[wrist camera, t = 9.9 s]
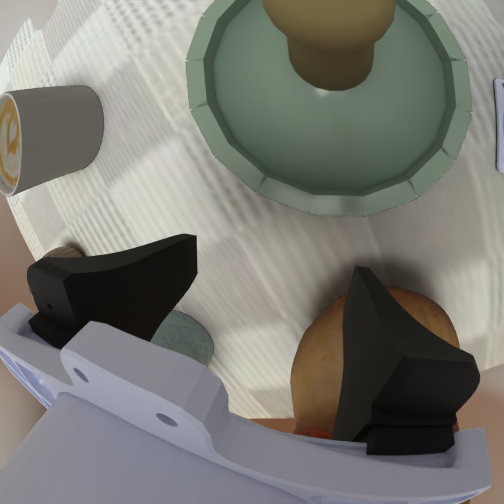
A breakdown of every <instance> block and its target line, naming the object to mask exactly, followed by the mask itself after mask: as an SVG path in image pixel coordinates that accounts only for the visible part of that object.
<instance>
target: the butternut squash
mask: <svg viewBox="0 0 504 504" xmlns="http://www.w3.org/2000/svg"><path fill="white" fill-rule="evenodd" d="M384 287H385V288H386V289H387V291H388V292H389V293H390V294H391V295H392V296H393V297H394V299H395V300H396V301H397V302H398V303H399V304H400V305H401V306H402V307H403V308H404V309H405V310H406V311H407V312H408V313H409V314H410V315H411V316H412V317H414V318H415V319H416V320H417V321H418V322H419V323H421V324H422V325H423V326H424V327H426V328H427V329H428V330H430V331H431V332H432V333H434V334H435V335H437V336H438V337H440V338H441V339H443V340H445V341H446V342H448V343H450V344H451V345H453V346H455V347H457V348H459V349H460V347H459V341H458V338H457V334H456V331H455V329H454V326H453V324H452V322H451V320H450V318H449V316H448V315H447V313H446V312H445V311H444V309H443V308H442V307H441V306H439V305H438V304H437V303H436V302H434V301H433V300H431V299H429V298H428V297H426V296H424V295H422V294H419V293H416V292H413V291H410V290H406V289H402V288H397V287H393V286H384ZM346 297H347V293H346V294H344V295H342V296H341V297H339V298H337V299H336V300H335V301H334V302H333V303H332V304H331V305H330V306H329V307H328V308H327V309H326V310H325V311H324V312H323V313H322V314H321V315H320V316H319V317H318V318H317V319H316V320H315V321H314V322H313V323H312V324H311V325H310V326H309V327H308V328H307V330H306V331H305V333H304V334H303V337H302V339H301V341H300V343H299V346H298V349H297V352H296V355H295V358H294V362H293V366H292V370H291V380H290V383H291V392H292V401H293V410H294V416H295V421H296V428H295V430H294V433H293V434H296V435H301V436H307V437H314V438H321V439H328V440H331V437H332V433H333V429H334V424H335V419H336V414H337V409H338V404H339V398H340V391H341V384H342V376H343V328H342V322H343V310H344V303H345V300H346ZM456 418H457V417H456ZM452 426H453V433H455V432H457V431H459V427H458V423H457V422H456V424H455V425H452ZM469 503H470V499H468V500H466V501H464V502H462V503H460V504H469Z"/></svg>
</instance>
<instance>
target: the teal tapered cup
mask: <svg viewBox="0 0 504 504" xmlns="http://www.w3.org/2000/svg"><path fill="white" fill-rule="evenodd" d="M150 342H151V343H153V344H156V345H158V346H161V347H164V348H166V349H169V350H172V351H175V352H178V353H181V354H183V355H186V356H188V357H190V358H192V359H194V360H196V361H198V362H200V363H202V364H204V365H205V366H208V364H209V362H210V360H211V357H212V355H213V349H214V348H213V342H212V339H211V337H210V335H209V334H208V332H207V331H206V329H205V328H204V327H203V326H202V325H201V324H200V323H199V322H197V321H196V320H195V319H193V318H192V317H190V316H188V315H186V314H184V313H182V312H179V311H174V310H172V311H171V312H170V313H169V314H168V316H167V317H166V318H165V319H164V321H163V322H162V323H161V325H160V326H159V328H158V329H157V331H156V333H155V334H154V336H153V338H152V339H151V341H150Z"/></svg>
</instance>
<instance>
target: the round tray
mask: <svg viewBox="0 0 504 504" xmlns="http://www.w3.org/2000/svg"><path fill="white" fill-rule="evenodd" d="M436 12H437V10H436V9H435V8H434V7H433V6H432V5H431V4H429V3H428V2H427V1H426V0H395V13H394V20H393V22H392V24H391V26H390V27H389V28H388V30H387V31H386V33H385V34H384V36H383V37H382V38H381V39H380V40H378V41H376V42H375V44H374V61H373V65H372V70H371V72H370V74H369V75H368V76H367V78H366V79H365V81H363V82H362V83H360V84H359V85H358V86H356V87H355V88H351V89H348V90H344V91H327V90H323V89H320V88H316V87H314V86H312V85H311V84H309V83H307V82H305V81H304V80H303V79H302V78H301V77H300V76H299V75H298V74H297V73H296V72H295V71H294V69H293V67H292V65H291V63H290V61H289V54H288V45H287V36H286V35H285V34H283V33H282V32H281V31H280V30H279V29H278V28H276V27H275V26H274V24H273V23H272V21H271V20H270V18H269V16H268V15H267V13H266V12H265V10H264V8H263V5H262V0H215V1H214V2H213V3H212V4H211V5H210V6H209V8H208V9H207V10H206V11H205V12H204V13H203V14H202V15H203V16H205V17H202V16H201V18H200V20H199V23H198V26H197V28H196V31H195V34H194V37H193V40H192V42H191V45H190V48H189V51H188V54H187V57H186V60H188V61H187V62H185V63H186V76H187V87H188V98H189V109H192V110H191V111H190V112H191V114H192V115H193V117H194V119H195V121H196V123H197V125H198V127H199V129H200V131H201V132H202V134H203V136H204V138H205V140H206V142H207V144H208V146H209V148H210V150H211V152H212V153H213V155H216V154H217V155H216V156H215V158H217V159H218V160H219V161H220V162H221V163H222V164H223V165H225V166H226V167H227V168H228V169H229V170H230V171H231V172H233V173H234V174H235V175H236V176H237V177H238V178H239V179H241V180H242V181H243V182H244V183H245V184H246V185H247V186H248V187H249V188H251V189H252V190H253V191H254V192H256V191H257V190H258V192H257V194H259V195H262V196H264V197H267V198H269V199H272V200H275V201H277V202H280V203H282V204H285V205H287V206H290V207H292V208H294V209H297V210H299V211H302V212H304V213H307V214H309V211H310V209H311V215H336V216H361V217H365V214H366V213H367V216H370V215H373V214H376V213H378V212H381V211H384V210H387V209H390V208H392V207H395V206H398V205H401V204H404V203H406V202H409V201H412V200H415V199H417V197H416V195H417V196H418V197H420V196H421V195H422V194H423V193H424V192H425V191H426V190H427V189H428V188H429V187H430V186H432V185H433V184H434V183H435V182H436V181H437V180H438V179H439V178H440V177H441V176H442V175H443V174H444V173H445V172H446V171H447V170H448V169H449V168H450V167H451V166H452V165H453V164H454V161H453V160H455V161H456V159H457V156H458V154H459V151H460V149H461V146H462V143H463V140H464V138H465V135H466V132H467V129H468V126H469V123H470V119H471V116H472V114H471V113H470V112H472V100H471V89H470V80H469V73H468V66H467V61H463V60H465V59H466V58H465V56H464V54H463V52H462V50H461V49H460V47H459V45H458V43H457V41H456V39H455V38H454V36H453V34H452V32H451V31H450V29H449V27H448V26H447V24H446V22H445V21H444V19H443V18H442V16H441V14H440V13H436Z"/></svg>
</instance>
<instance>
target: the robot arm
mask: <svg viewBox="0 0 504 504" xmlns="http://www.w3.org/2000/svg"><path fill="white" fill-rule="evenodd" d="M502 83H503V85H504V80H502V79H499V78H496V79H494V88H495V98H496V110H497V170H498V171H499V172H501V173H504V88H503V86H502ZM197 274H198V272H197V236H196V235H190V234H179V235H175V236H172V237H168V238H165V239H162V240H159V241H156V242H153V243H149V244H146V245H143V246H139V247H136V248H132V249H129V250H125V251H121V252H116V253H111V254H104V255H97V256H89V257H67V258H65V257H43V258H41V259H40V260H38V261H37V262H35V263H34V264H32V265H31V266H29V268H28V270H27V280H28V284H29V288H30V291H31V293H32V296H33V298H34V301H35V303H36V306H37V308H38V311H39V312H38V313H37V314H36V315H34V314H33V312H32V311H31V310H30V309H28V308H27V307H26V306H24V305H23V304H22V303H18V304H17V305H15V306H14V307H13V308H12V309H10V310H9V311H8V312H7V313H6V314H4V315H3V316H2V317H1V318H0V357H1V359H2V360H3V362H4V363H5V364H6V366H7V368H8V369H9V371H10V372H11V373H12V374H13V375H14V376H15V377H16V378H17V379H18V380H19V381H20V382H21V383H22V384H23V385H24V386H25V387H26V388H27V390H28V391H29V392H30V393H31V394H33V395H34V397H35V398H36V399H38V400H39V401H40V402H41V403H42V404H43V405H44V406H45V407H46V408H47V409H48V410H47V411H46V412H45V414H44V415H43V416H42V417H41V418H40V420H39V421H38V422H37V423H36V425H35V426H34V427H33V429H32V430H31V431H30V432H29V434H28V435H27V436H26V437H25V439H24V440H23V441H22V442H21V444H20V445H19V446H18V448H17V449H16V450H15V452H14V453H13V454H12V456H11V457H10V458H9V460H8V461H7V462H6V464H5V465H4V466H3V468H2V469H1V471H0V504H460V503H462V502H464V501H466V500H468V499H470V498H472V497H474V496H476V495H478V494H480V493H482V492H483V491H485V490H487V489H489V488H490V487H491V486H492V478H491V468H490V459H489V452H488V446H487V440H486V434H485V429H484V428H483V427H480V428H472V429H464V430H460V431H457V432H455V433H453V426H452V425H455V424H456V422H457V418H456V412H457V411H458V410H459V409H460V408H461V407H462V406H463V405H464V404H465V403H466V402H467V400H468V399H469V398H470V397H471V396H472V395H473V393H474V392H475V391H476V389H477V387H478V384H479V382H480V373H479V370H478V367H477V365H476V362H475V359H474V356H473V355H471V354H469V353H467V352H465V351H463V350H461V349H459V348H457V347H455V346H453V345H451V344H450V343H448V342H446V341H445V340H443V339H441V338H440V337H438V336H437V335H435V334H434V333H432V332H431V331H430V330H428V329H427V328H426V327H424V326H423V325H422V324H421V323H419V322H418V321H417V320H416V319H415V318H414V317H412V316H411V315H410V314H409V313H408V312H407V311H406V310H405V309H404V308H403V307H402V306H401V305H400V304H399V303H398V302H397V301H396V300H395V299H394V297H393V296H392V295H391V294H390V293H389V292H388V291H387V289H386V288H385V287H384V286H383V284H382V283H381V282H380V281H379V279H378V278H377V277H376V276H375V274H374V273H373V272H372V271H371V270H370V269H369V268H365V267H360V266H355V269H354V273H353V277H352V280H351V283H350V287H349V290H348V293H347V297H346V300H345V303H344V310H343V322H342V328H343V376H342V384H341V391H340V398H339V404H338V409H337V414H336V419H335V424H334V429H333V433H332V437H331V440H328V439H321V438H314V437H307V436H301V435H296V434H290V433H285V432H280V431H275V430H272V429H270V428H267V427H265V426H262V425H260V424H257V423H255V422H252V421H250V420H248V419H246V418H243V417H241V416H239V415H237V414H234V413H232V412H230V411H229V409H228V394H227V392H226V389H225V387H224V385H223V382H222V381H221V379H220V378H219V377H218V376H216V375H215V374H214V373H213V372H212V371H211V370H210V369H209V368H208V367H207V366H205V365H204V364H202V363H200V362H198V361H196V360H194V359H192V358H190V357H188V356H186V355H183V354H181V353H178V352H175V351H172V350H169V349H166V348H164V347H161V346H158V345H156V344H153V343H151V342H150V341H151V339H152V338H153V336H154V334H155V333H156V331H157V329H158V328H159V326H160V325H161V323H162V322H163V321H164V319H165V318H166V317H167V316H168V314H169V313H170V312H171V311H172V309H173V308H174V307H175V306H176V304H177V303H178V302H179V301H180V299H181V298H182V297H183V296H184V294H185V293H186V292H187V291H188V289H189V288H190V286H191V284H192V283H193V281H194V279H195V277H196V275H197Z"/></svg>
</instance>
